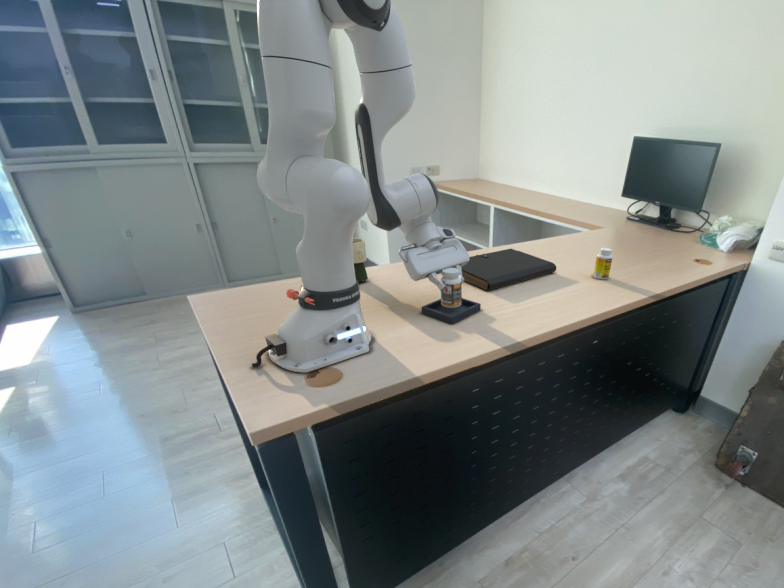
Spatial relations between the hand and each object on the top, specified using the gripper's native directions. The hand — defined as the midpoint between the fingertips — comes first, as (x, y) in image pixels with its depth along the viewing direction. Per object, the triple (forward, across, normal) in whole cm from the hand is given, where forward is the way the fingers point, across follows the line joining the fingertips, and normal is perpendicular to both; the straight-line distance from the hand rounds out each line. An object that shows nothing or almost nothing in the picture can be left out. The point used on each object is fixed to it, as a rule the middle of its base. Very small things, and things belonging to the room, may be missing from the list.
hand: (452, 285), depth 110 cm
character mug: (-22, -3, +34) cm, 40 cm away
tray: (+5, 0, +6) cm, 8 cm away
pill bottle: (+4, 0, +5) cm, 6 cm away
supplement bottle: (+17, +61, -6) cm, 63 cm away
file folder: (-3, +38, +14) cm, 40 cm away
